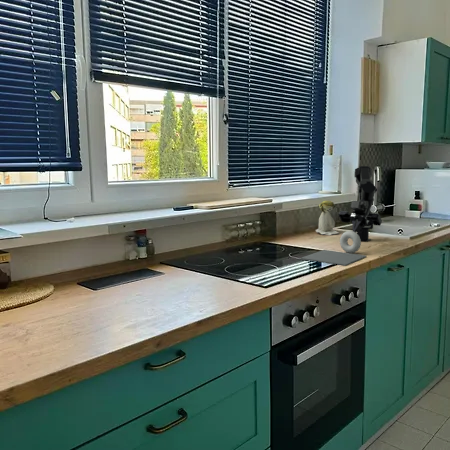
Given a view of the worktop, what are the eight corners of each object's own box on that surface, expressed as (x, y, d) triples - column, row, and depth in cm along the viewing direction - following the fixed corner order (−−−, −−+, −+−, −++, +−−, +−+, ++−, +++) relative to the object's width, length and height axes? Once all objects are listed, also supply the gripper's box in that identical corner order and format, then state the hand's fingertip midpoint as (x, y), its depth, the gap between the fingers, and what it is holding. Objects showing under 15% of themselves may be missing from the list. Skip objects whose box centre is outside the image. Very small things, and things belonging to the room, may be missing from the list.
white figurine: (319, 235, 241) (320, 202, 238) (312, 231, 254) (313, 199, 251) (341, 235, 242) (341, 201, 239) (333, 231, 255) (334, 199, 252)
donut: (362, 254, 196) (362, 231, 194) (357, 255, 194) (358, 232, 192) (342, 250, 203) (342, 229, 202) (337, 251, 201) (338, 230, 199)
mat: (324, 250, 203) (324, 249, 203) (366, 256, 190) (366, 255, 190) (301, 258, 188) (301, 257, 188) (345, 265, 175) (345, 264, 175)
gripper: (340, 193, 207) (328, 219, 200) (380, 195, 194) (369, 223, 188) (347, 208, 214) (336, 234, 207) (386, 211, 202) (375, 239, 195)
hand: (353, 232), depth 199 cm, fingers closed
